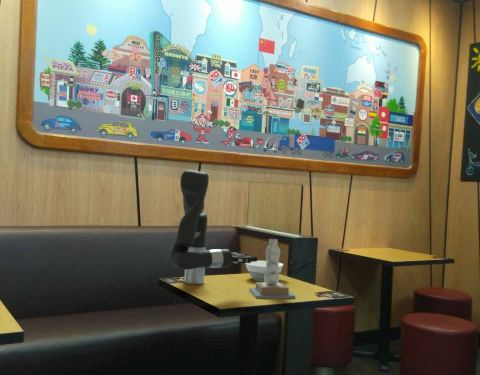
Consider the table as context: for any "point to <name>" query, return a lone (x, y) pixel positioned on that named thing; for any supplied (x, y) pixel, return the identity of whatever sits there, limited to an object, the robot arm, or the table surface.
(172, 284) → the table surface
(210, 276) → the table surface
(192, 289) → the table surface
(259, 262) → the bowl
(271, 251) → the plastic bottle
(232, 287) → the table surface
